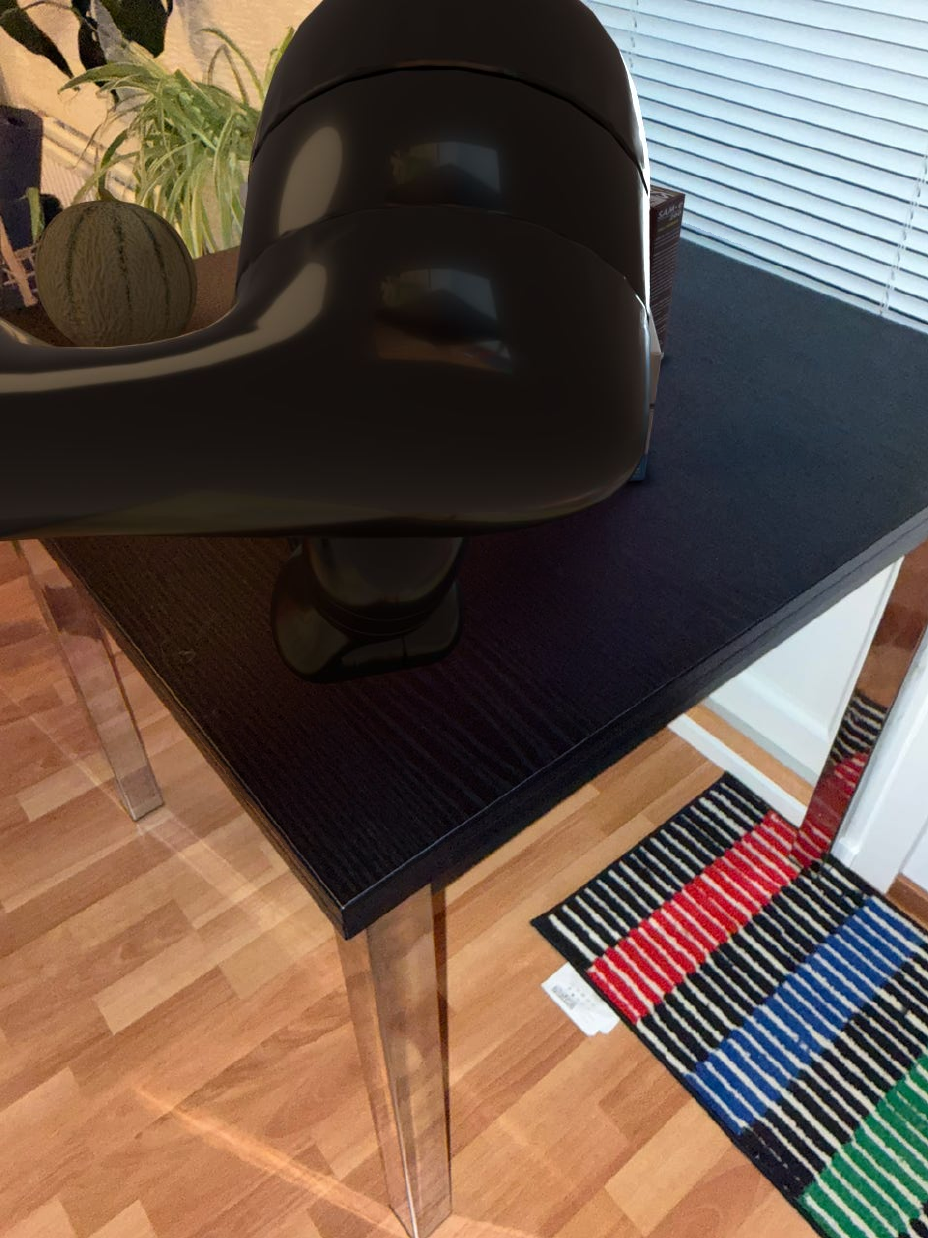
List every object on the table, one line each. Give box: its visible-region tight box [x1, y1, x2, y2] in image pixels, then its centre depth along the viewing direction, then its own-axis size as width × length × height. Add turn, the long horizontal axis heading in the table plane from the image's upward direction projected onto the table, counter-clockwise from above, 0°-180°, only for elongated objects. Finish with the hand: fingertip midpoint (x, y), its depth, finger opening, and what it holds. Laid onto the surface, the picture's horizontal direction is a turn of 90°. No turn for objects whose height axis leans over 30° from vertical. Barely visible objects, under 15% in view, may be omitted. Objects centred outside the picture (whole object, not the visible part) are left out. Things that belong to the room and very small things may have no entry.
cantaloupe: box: [34, 186, 199, 347], centre depth 90 cm, size 15×15×15 cm
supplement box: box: [649, 183, 687, 360], centre depth 87 cm, size 9×5×16 cm, turn 47°
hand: (287, 339), depth 74 cm, fingers open, 8 cm apart
